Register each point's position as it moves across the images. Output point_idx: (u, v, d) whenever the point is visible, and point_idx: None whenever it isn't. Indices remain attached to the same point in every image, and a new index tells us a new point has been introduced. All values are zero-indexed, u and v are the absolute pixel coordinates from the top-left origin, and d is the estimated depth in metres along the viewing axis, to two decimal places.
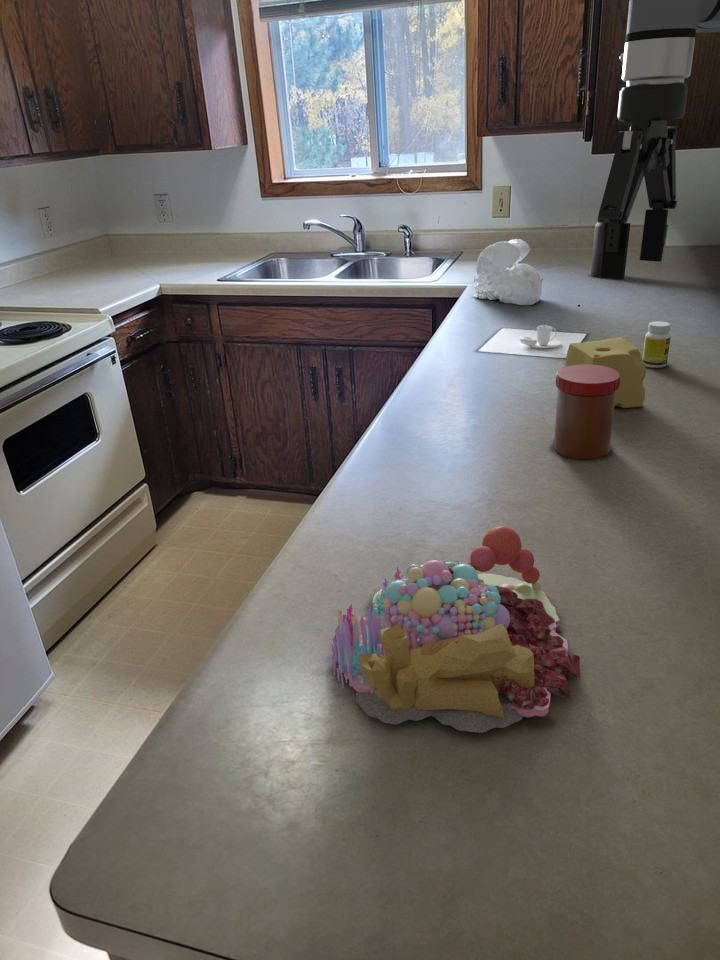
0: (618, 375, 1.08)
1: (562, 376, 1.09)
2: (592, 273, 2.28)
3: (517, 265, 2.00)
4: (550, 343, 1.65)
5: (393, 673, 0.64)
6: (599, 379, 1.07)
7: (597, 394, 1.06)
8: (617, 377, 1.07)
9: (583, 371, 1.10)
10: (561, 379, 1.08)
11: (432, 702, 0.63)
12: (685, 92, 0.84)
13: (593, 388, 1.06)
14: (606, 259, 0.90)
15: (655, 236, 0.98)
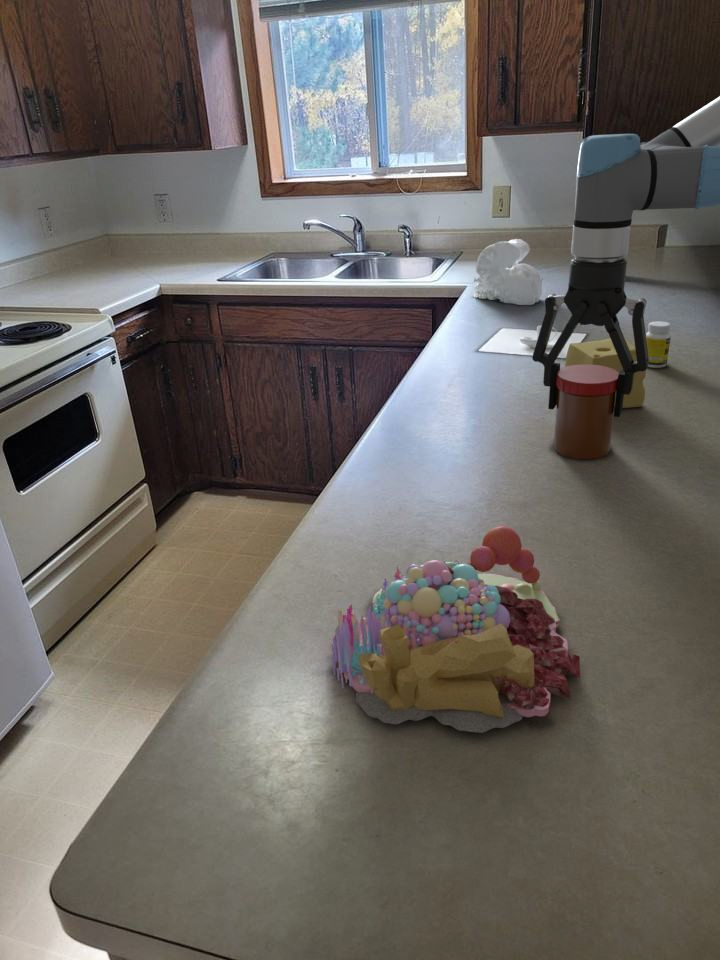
0: None
1: (562, 376, 1.09)
2: None
3: (517, 265, 2.00)
4: (550, 343, 1.65)
5: (393, 673, 0.64)
6: (599, 379, 1.07)
7: (597, 394, 1.06)
8: (617, 377, 1.07)
9: (583, 371, 1.10)
10: (561, 379, 1.08)
11: (432, 702, 0.63)
12: (591, 270, 1.00)
13: (593, 388, 1.06)
14: None
15: None
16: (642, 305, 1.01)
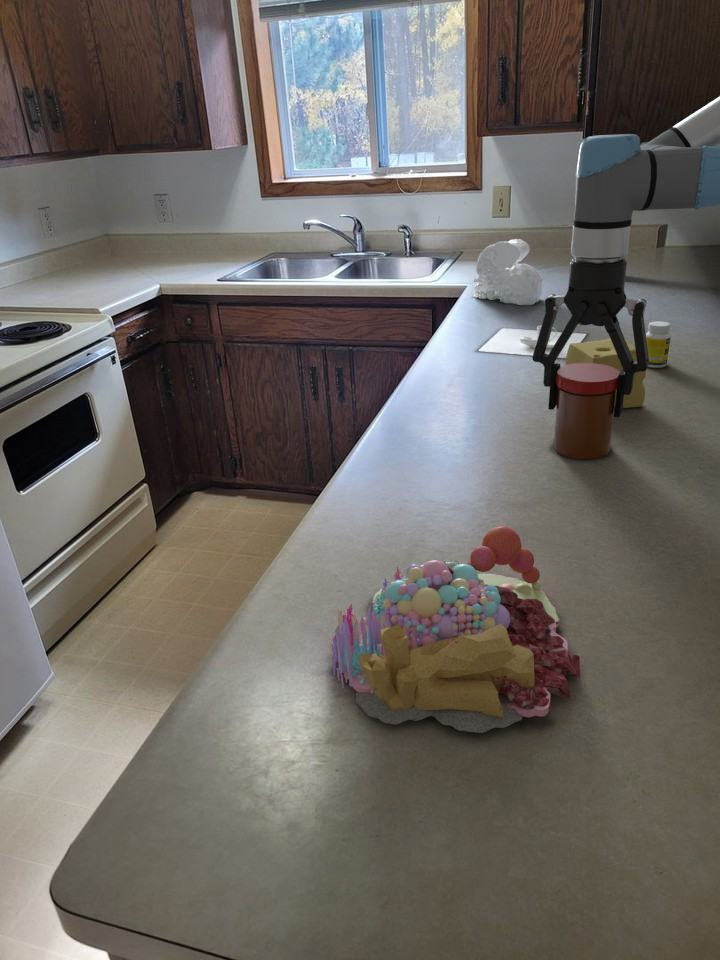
0: (594, 363, 1.13)
1: (598, 380, 1.06)
2: None
3: (517, 265, 2.00)
4: (550, 343, 1.65)
5: (393, 673, 0.64)
6: (607, 370, 1.10)
7: None
8: (600, 364, 1.12)
9: (581, 373, 1.09)
10: (602, 382, 1.05)
11: (432, 702, 0.63)
12: (591, 271, 1.00)
13: None
14: None
15: None
16: (642, 305, 1.01)
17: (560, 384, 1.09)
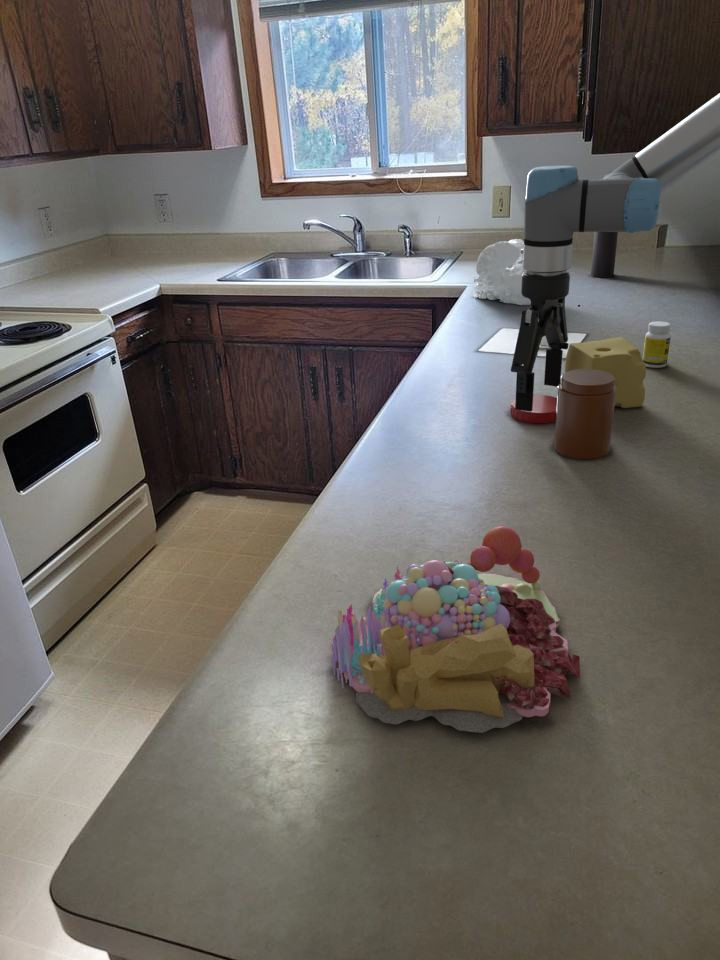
0: (514, 399, 1.30)
1: None
2: (592, 273, 2.28)
3: (517, 265, 2.00)
4: None
5: (393, 673, 0.64)
6: (533, 397, 1.30)
7: None
8: None
9: (540, 405, 1.27)
10: None
11: (432, 702, 0.63)
12: (568, 280, 1.16)
13: None
14: (518, 396, 1.21)
15: (554, 368, 1.30)
16: None
17: (547, 419, 1.24)
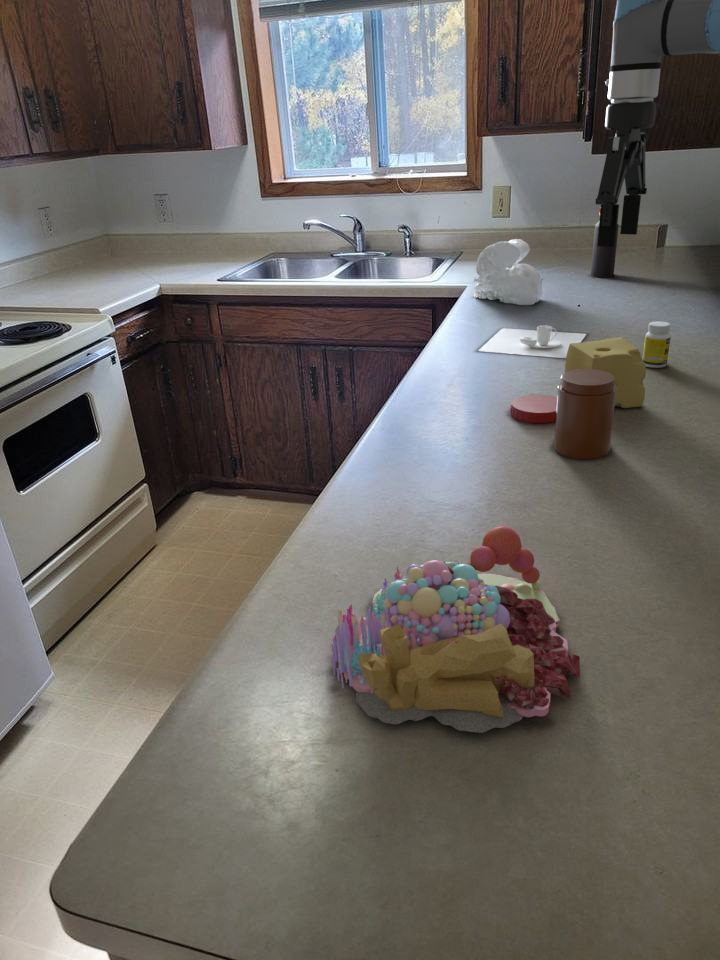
0: (514, 399, 1.30)
1: None
2: (592, 273, 2.28)
3: (517, 265, 2.00)
4: (550, 343, 1.65)
5: (393, 673, 0.64)
6: (533, 397, 1.30)
7: None
8: (517, 398, 1.30)
9: (540, 405, 1.27)
10: None
11: (432, 702, 0.63)
12: (654, 108, 1.16)
13: None
14: (601, 232, 1.21)
15: (632, 215, 1.30)
16: (645, 134, 1.24)
17: (547, 419, 1.24)
